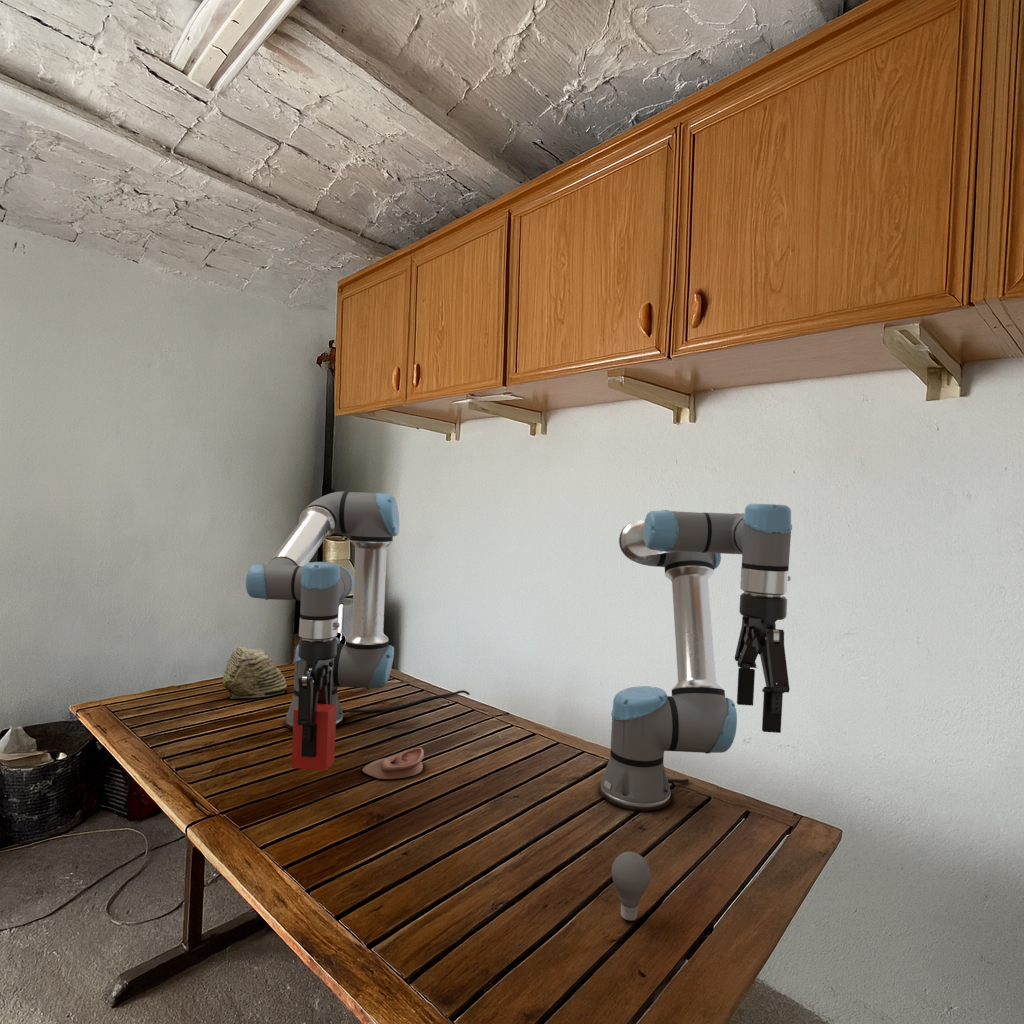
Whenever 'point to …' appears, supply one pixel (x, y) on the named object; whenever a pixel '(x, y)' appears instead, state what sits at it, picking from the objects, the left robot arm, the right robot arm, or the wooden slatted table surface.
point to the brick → (323, 743)
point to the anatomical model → (397, 765)
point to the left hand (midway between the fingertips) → (313, 750)
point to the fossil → (252, 674)
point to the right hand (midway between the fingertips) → (757, 717)
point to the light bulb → (630, 881)
